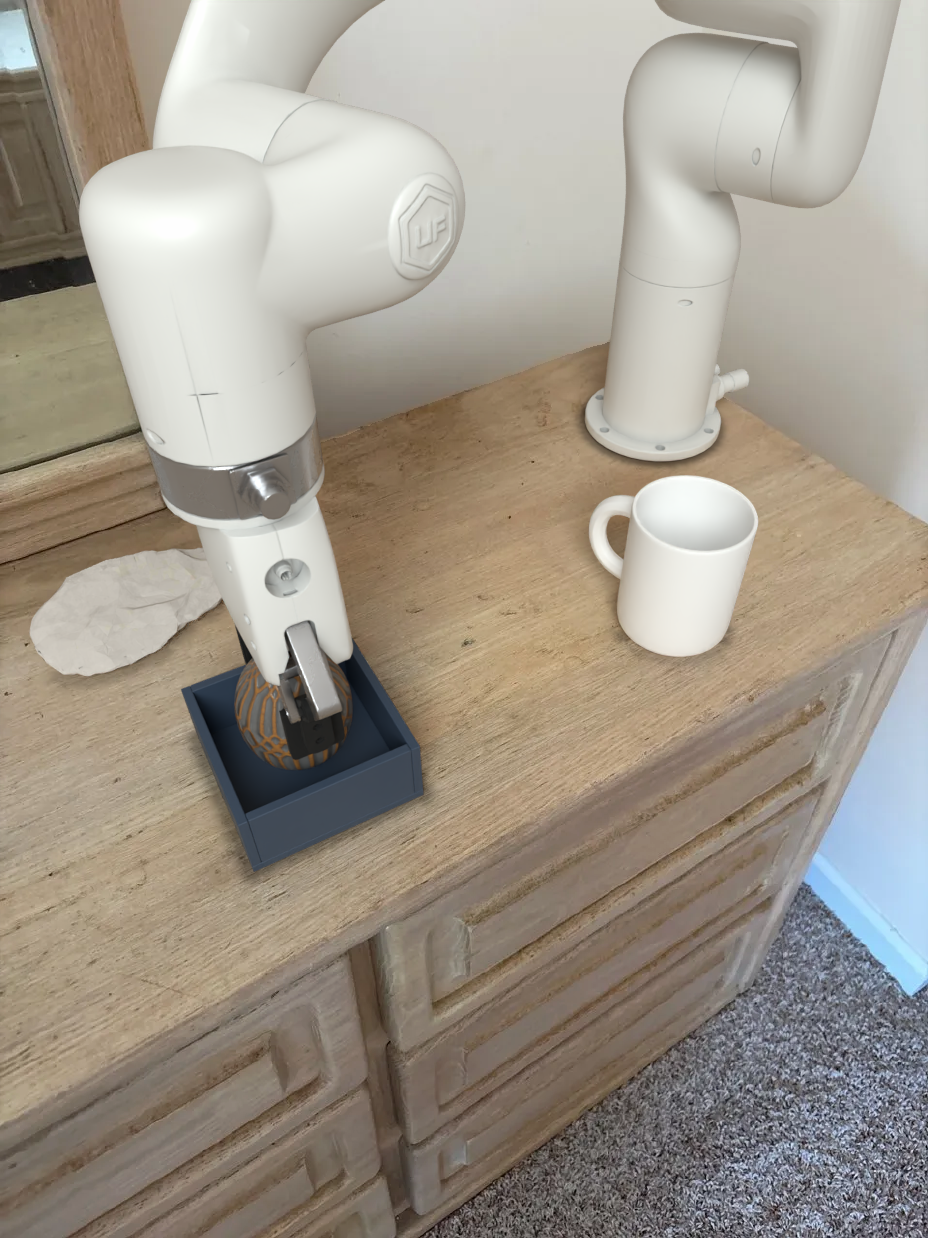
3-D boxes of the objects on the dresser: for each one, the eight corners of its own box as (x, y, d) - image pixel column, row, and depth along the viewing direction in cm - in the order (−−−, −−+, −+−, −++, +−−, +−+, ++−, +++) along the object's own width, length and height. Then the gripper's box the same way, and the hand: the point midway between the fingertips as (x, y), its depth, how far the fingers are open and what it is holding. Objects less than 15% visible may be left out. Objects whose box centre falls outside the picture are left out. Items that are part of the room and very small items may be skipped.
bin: (353, 676, 64) (345, 626, 60) (423, 795, 57) (420, 746, 53) (198, 738, 60) (180, 688, 56) (253, 872, 53) (237, 826, 49)
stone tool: (70, 711, 64) (257, 616, 70) (61, 694, 61) (257, 596, 67) (16, 616, 66) (202, 532, 72) (5, 596, 63) (199, 509, 69)
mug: (553, 601, 69) (562, 493, 62) (615, 547, 73) (631, 440, 66) (689, 679, 63) (717, 571, 56) (748, 616, 68) (781, 507, 60)
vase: (262, 804, 53) (234, 711, 47) (235, 720, 58) (206, 624, 52) (372, 765, 55) (359, 670, 49) (338, 686, 60) (322, 590, 54)
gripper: (394, 535, 37) (414, 783, 50) (254, 348, 48) (300, 592, 60) (216, 596, 34) (285, 841, 47) (110, 385, 45) (190, 631, 58)
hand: (293, 700), depth 54 cm, fingers closed on vase, 6 cm apart
